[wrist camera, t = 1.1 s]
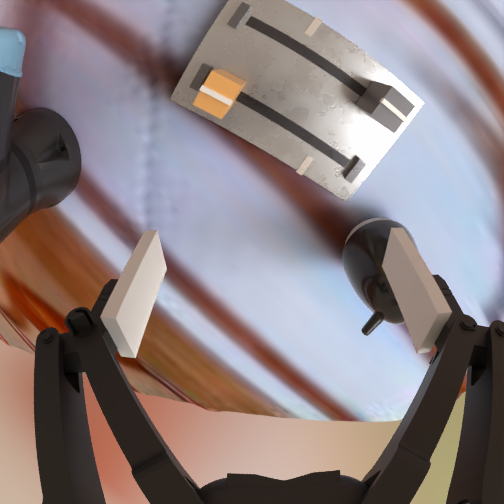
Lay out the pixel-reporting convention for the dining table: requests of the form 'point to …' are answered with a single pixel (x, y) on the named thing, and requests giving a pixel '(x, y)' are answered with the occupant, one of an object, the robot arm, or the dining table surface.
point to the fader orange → (219, 92)
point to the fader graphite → (385, 105)
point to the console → (295, 91)
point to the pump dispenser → (372, 270)
